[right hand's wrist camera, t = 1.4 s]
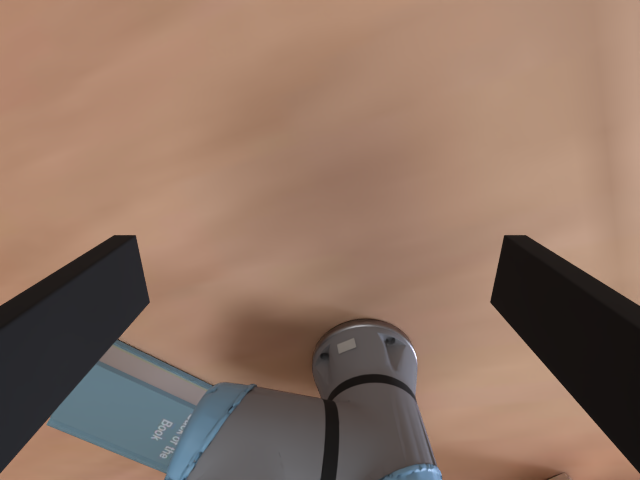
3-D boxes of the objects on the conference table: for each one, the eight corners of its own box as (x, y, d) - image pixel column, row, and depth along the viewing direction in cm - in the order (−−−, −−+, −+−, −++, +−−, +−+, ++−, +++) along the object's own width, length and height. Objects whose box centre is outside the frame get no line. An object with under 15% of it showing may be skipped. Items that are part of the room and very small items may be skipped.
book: (240, 399, 54) (232, 427, 50) (195, 455, 59) (184, 485, 55) (103, 333, 49) (81, 357, 45) (67, 400, 55) (44, 428, 50)
